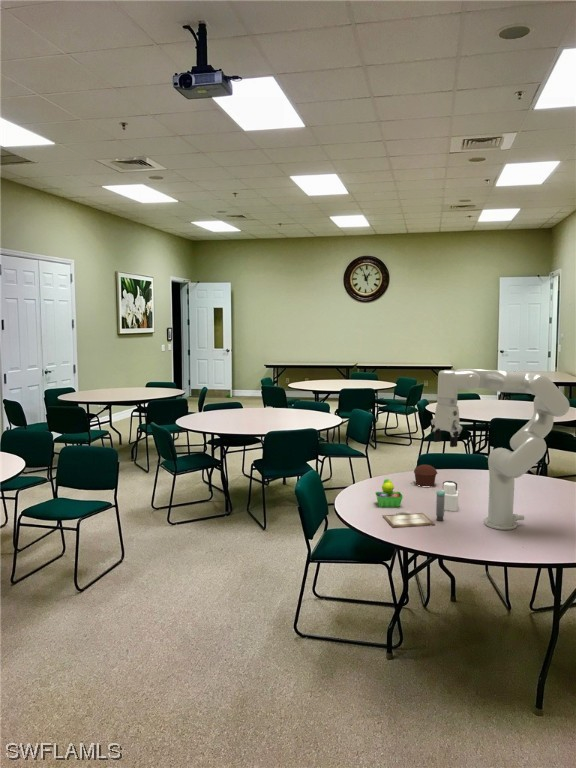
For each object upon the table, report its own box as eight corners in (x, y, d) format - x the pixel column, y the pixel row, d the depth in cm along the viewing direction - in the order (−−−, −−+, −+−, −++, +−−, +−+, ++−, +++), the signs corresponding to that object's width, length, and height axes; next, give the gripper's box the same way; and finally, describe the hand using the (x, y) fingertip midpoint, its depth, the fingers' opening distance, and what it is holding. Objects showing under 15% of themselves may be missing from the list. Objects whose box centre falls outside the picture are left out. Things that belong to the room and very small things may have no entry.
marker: (442, 518, 238) (442, 490, 237) (445, 521, 235) (446, 493, 233) (434, 518, 238) (435, 491, 236) (437, 521, 234) (438, 493, 233)
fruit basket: (377, 508, 251) (377, 483, 250) (374, 501, 260) (374, 477, 259) (403, 508, 251) (403, 483, 250) (399, 501, 260) (399, 477, 259)
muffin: (411, 486, 283) (411, 467, 281) (415, 480, 293) (415, 461, 292) (435, 489, 278) (436, 469, 277) (438, 483, 288) (439, 463, 287)
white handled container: (441, 504, 255) (442, 479, 254) (458, 506, 253) (458, 480, 251) (440, 509, 248) (441, 483, 247) (457, 511, 246) (458, 485, 245)
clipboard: (422, 514, 243) (422, 510, 243) (435, 525, 230) (435, 521, 230) (382, 516, 240) (382, 513, 240) (392, 527, 228) (392, 524, 227)
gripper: (469, 404, 216) (467, 448, 218) (440, 398, 232) (438, 439, 234) (454, 405, 213) (452, 449, 215) (425, 399, 229) (424, 440, 231)
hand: (445, 444), depth 224 cm, fingers open, 9 cm apart
